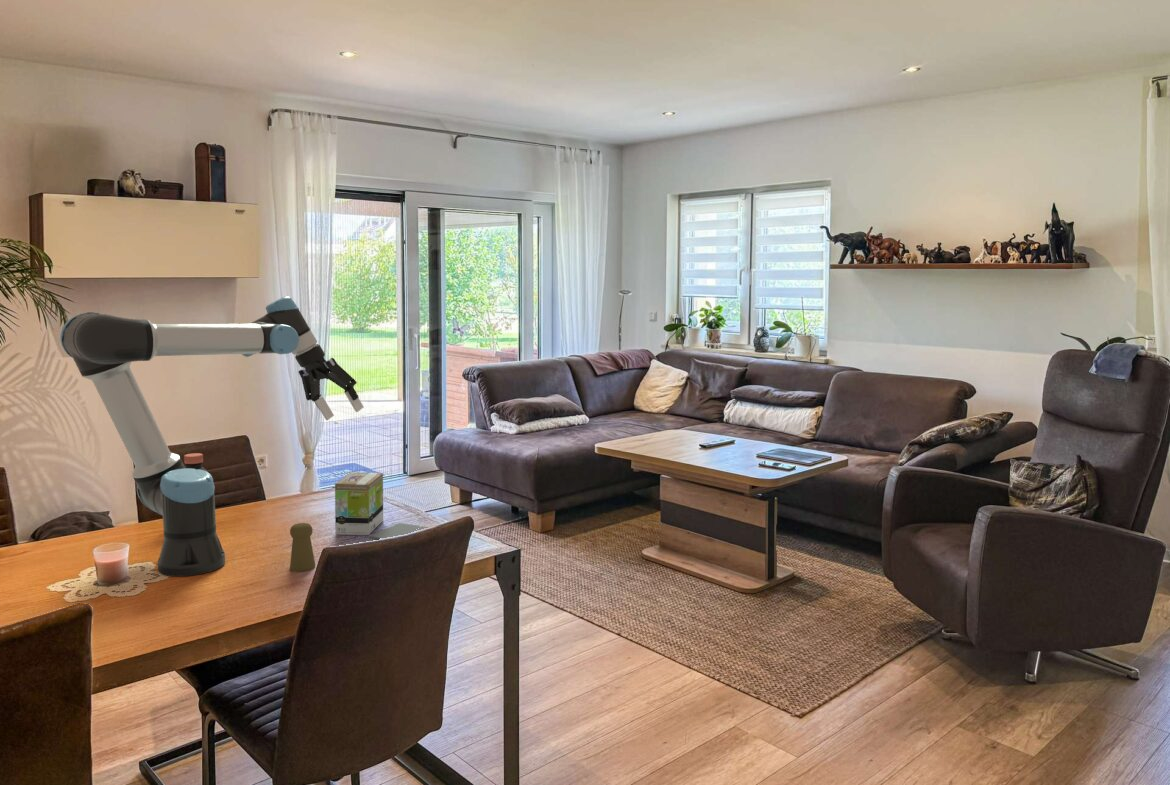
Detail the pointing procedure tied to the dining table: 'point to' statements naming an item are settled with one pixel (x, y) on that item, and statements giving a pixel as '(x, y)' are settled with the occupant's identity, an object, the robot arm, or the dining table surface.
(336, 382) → the robot arm
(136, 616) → the dining table surface
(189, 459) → the bottle
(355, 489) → the tea box
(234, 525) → the dining table surface
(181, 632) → the dining table surface
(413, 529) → the mat
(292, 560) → the olive green pawn
